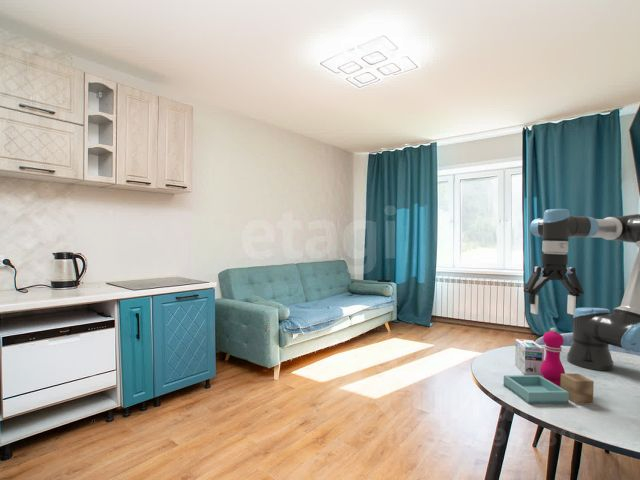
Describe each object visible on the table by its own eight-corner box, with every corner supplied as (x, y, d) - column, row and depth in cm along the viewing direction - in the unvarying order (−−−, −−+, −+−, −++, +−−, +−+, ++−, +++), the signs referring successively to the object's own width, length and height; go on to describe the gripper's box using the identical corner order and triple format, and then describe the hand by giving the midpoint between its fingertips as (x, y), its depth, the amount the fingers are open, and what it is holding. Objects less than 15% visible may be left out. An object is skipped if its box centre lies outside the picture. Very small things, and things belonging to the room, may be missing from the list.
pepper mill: (537, 383, 121) (538, 327, 121) (543, 378, 126) (544, 323, 126) (562, 390, 116) (563, 331, 116) (567, 384, 121) (568, 327, 121)
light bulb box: (544, 377, 128) (545, 348, 128) (524, 375, 129) (525, 346, 129) (532, 366, 138) (533, 339, 138) (514, 364, 140) (514, 338, 139)
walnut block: (577, 394, 114) (578, 373, 114) (592, 403, 108) (593, 381, 108) (560, 394, 113) (560, 373, 113) (574, 403, 107) (575, 381, 107)
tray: (539, 385, 120) (539, 375, 120) (568, 403, 107) (568, 392, 107) (503, 385, 120) (503, 375, 119) (528, 403, 107) (528, 392, 107)
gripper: (527, 252, 116) (525, 315, 117) (597, 254, 118) (595, 316, 118) (513, 251, 124) (511, 310, 124) (580, 253, 125) (577, 311, 126)
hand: (552, 313), depth 121 cm, fingers open, 13 cm apart
